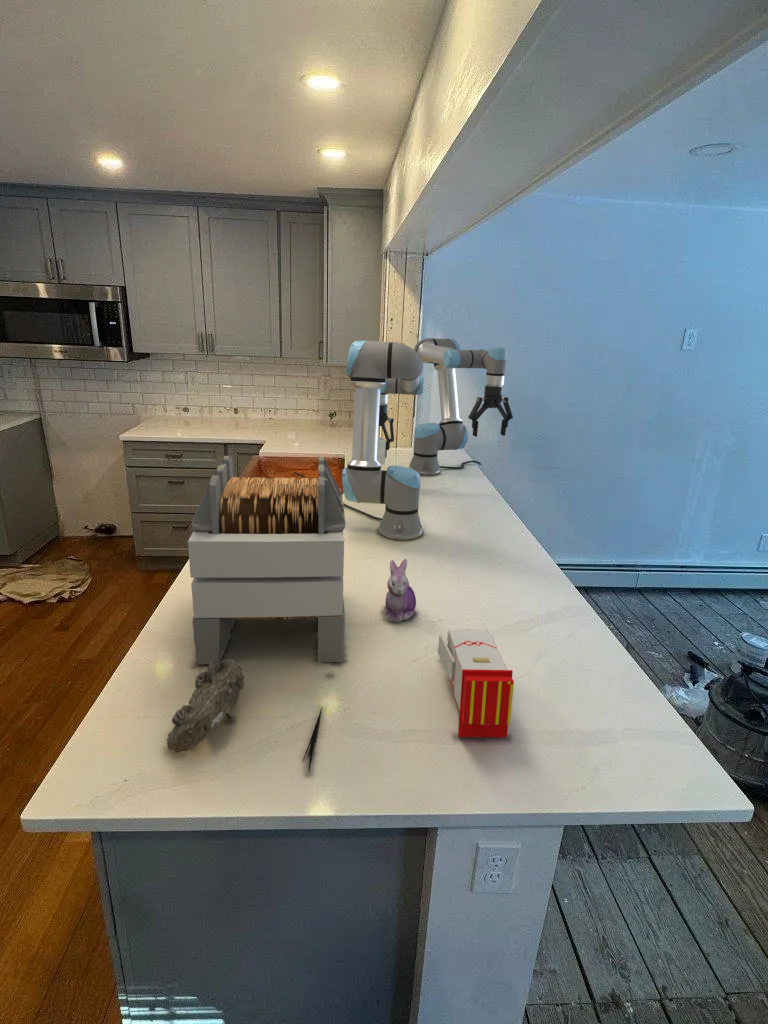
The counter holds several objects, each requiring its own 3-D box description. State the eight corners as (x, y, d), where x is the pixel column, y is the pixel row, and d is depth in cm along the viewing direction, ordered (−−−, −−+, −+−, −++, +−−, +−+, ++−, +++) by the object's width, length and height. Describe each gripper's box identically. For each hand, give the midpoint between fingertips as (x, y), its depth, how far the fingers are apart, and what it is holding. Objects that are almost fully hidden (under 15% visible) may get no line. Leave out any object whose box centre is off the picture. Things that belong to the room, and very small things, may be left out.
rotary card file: (219, 592, 154) (209, 445, 140) (339, 591, 158) (342, 448, 144) (193, 667, 122) (178, 487, 108) (344, 663, 126) (348, 488, 112)
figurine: (392, 627, 141) (395, 572, 136) (374, 608, 149) (376, 556, 144) (425, 619, 145) (429, 566, 140) (405, 601, 154) (408, 550, 149)
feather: (331, 679, 122) (336, 673, 122) (307, 777, 96) (313, 769, 95) (324, 675, 122) (329, 669, 121) (298, 772, 95) (304, 764, 95)
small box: (385, 464, 245) (386, 440, 242) (372, 465, 244) (373, 441, 240) (379, 459, 253) (380, 436, 249) (367, 460, 251) (368, 436, 247)
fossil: (192, 660, 117) (244, 628, 112) (224, 691, 120) (276, 661, 115) (142, 746, 98) (202, 712, 93) (182, 779, 101) (242, 748, 96)
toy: (488, 613, 130) (523, 677, 101) (484, 667, 133) (517, 744, 104) (435, 612, 130) (455, 676, 101) (432, 666, 133) (451, 743, 103)
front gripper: (402, 403, 243) (399, 455, 250) (356, 401, 244) (354, 453, 251) (402, 406, 235) (399, 460, 243) (354, 403, 236) (352, 457, 244)
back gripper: (515, 384, 244) (509, 432, 252) (463, 384, 237) (458, 434, 244) (524, 386, 238) (518, 436, 245) (471, 386, 230) (466, 438, 237)
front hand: (376, 456), depth 247 cm, fingers closed on small box, 7 cm apart
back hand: (488, 435), depth 244 cm, fingers open, 13 cm apart
